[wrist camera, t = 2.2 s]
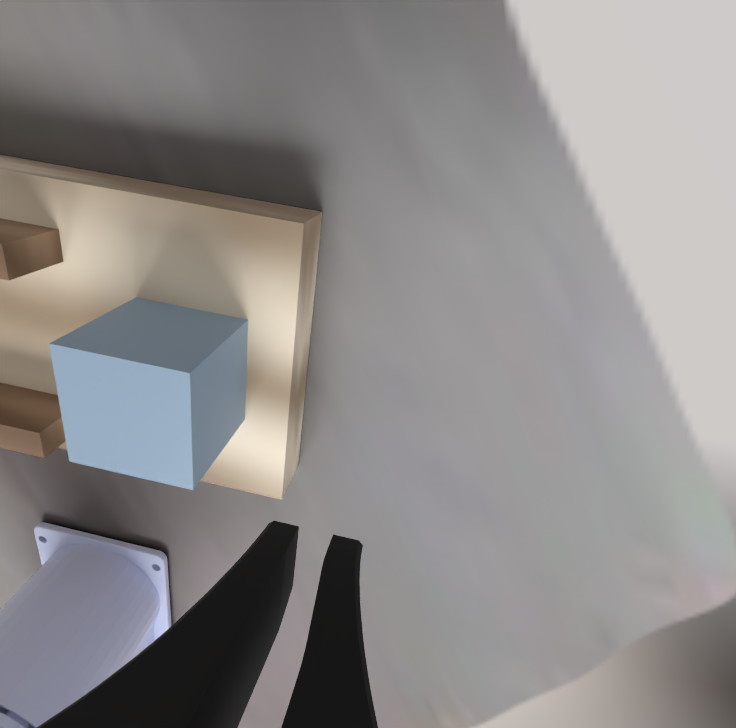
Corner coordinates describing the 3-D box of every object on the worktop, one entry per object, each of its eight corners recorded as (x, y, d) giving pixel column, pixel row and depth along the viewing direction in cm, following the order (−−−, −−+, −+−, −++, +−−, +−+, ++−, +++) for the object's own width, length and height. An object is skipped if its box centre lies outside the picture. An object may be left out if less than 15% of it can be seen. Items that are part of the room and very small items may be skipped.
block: (244, 419, 20) (193, 490, 16) (143, 397, 20) (69, 461, 17) (248, 319, 18) (190, 373, 14) (135, 297, 18) (49, 343, 15)
